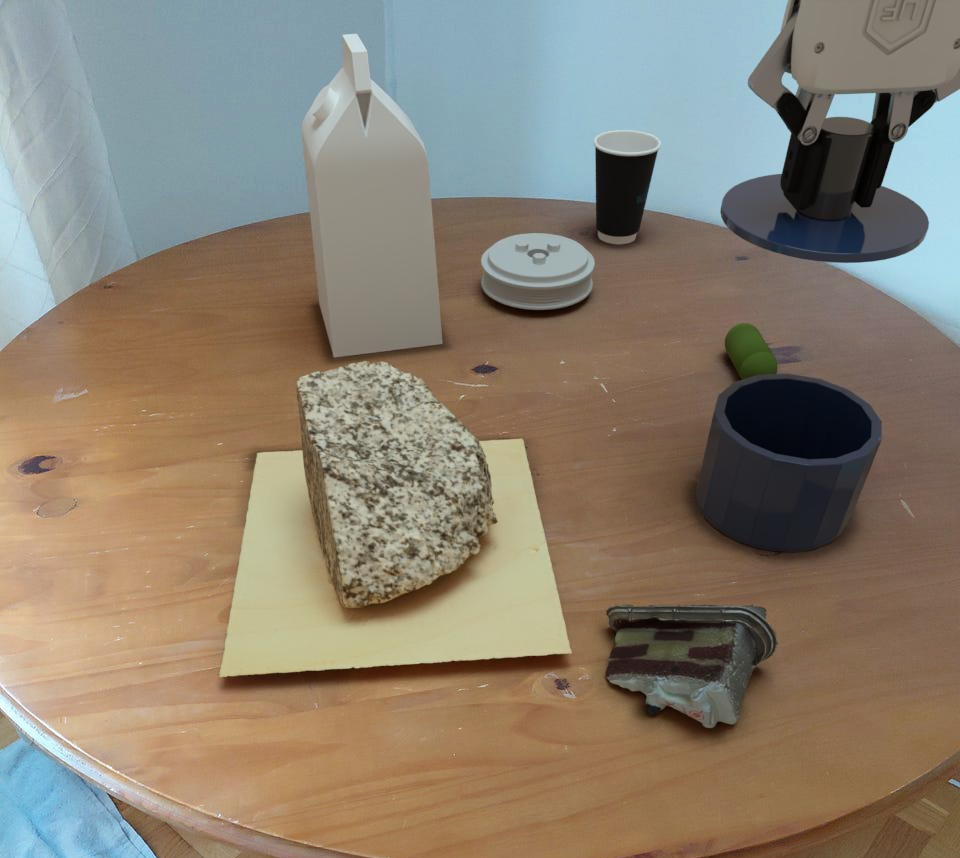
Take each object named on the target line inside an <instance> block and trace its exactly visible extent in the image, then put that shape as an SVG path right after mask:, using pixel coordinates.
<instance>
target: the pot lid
mask: <svg viewBox="0 0 960 858" xmlns="http://www.w3.org/2000/svg"><path fill="white" fill-rule="evenodd" d="M874 133H875V127H874V126H873V125H872V124H871V122H869V121H866V120H864V119H860V118H856V117H849V116H830V117H826V118H825V121H824V123H823V126H822V128H821V131H820V135H819V139H818V142H819V143H820V144H821V145H822V146H823V154H822V158H821V161H820V165H819V169H818V173H817V177H816V181H815V185H814V188H813V192H812V196H811V200H810V204H809V207H808V208H806V209H805V210H796V209H795V208H794V207H793V206H792V205H791V203H790V202H789V201H788V200H787V199H786V197H785V196H784V194H783V190H782V189H781V184H780V182H781V175H782V173H775V174H768V175H762V176H758V177H753V178H751V179H747V180H745V181H742V182H739V183H738V184H736V185H734V186H732V187H731V188H730V189H728V190H727V192H726V193H725V194H724V195H723V198H722V199H721V205H720V211H719V212H720V217H721V220H722V222H723V223H724V225H725V226H726V227H727V229H729V230H730V231H731V232H732V233H733V234H734V235H736V236H737V237H738V238H741V239H742V240H744V241H745V242H748V243H749V244H751V245H754V246H756V247H758V248H761V249H762V250H763V249H764V250H766V251H770V252H773V253H776V254H779V255H783V256H787V257H791V258H795V259H801V260H807V261H813V262H823V263H839V264H840V263H841V264H856V263H857V264H858V263H860V264H861V263H872V262H879V261H885V260H889V259H893V258H897V257H899V256H900V257H901V256H903V255H906V254H907V253H910V252H911V251H913V250H915V249H917V248H918V247H919V246H920V245H921V244H922V243H923V242H924V240H925V238H926V236H927V233H928V231H929V228H930V221H929V217H928V215H927V213H926V212H925V210H924V209H923V208H922V207H921V205H919V204H918V203H916V202H915V201H914V200H913V199H911V198H909V197H908V196H907V195H904V194H902V193H900V192H898V191H896V190H894V189H892V188H889V187H886V186H884V185H881V187H880V188H878V189H876V193H875V196H874V199H873V202H872V205H871V206H870V207H864V208H861V207H860V206H859V205H858V204H857V203H856V202H855V198H856V195H857V191H858V188H859V185H860V181H861V178H862V174H863V171H864V167H865V164H866V161H867V157H868V154H869V150H870V147H871V144H872V140H873V137H874Z"/></svg>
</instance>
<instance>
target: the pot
mask: <svg viewBox="0 0 960 858" xmlns="http://www.w3.org/2000/svg"><path fill="white" fill-rule="evenodd" d="M882 436H883V421H882V420H881V418H880V417H879V415H878V414H877V412H876V411H875V409H874V407H873V406H872V405H871V404H870V403H869V402H867V401H866V400H865V399H863V398H861V397H860V396H859V395H857V394H855V393H854V392H852V390H850V389H848V388H847V387H843V386H840V385H838V384H835V383H832V382H829V381H827V380H824V379H822V378H817V377H811V376H805V375H798V374H793V373H776V374H765V375H756V376H753V377H750V378H747V379H743V380H741V379H740V380H737V381H734V382H732V383H731V384H729V386H727V387H726V388H724V390H722V392H720V393H719V394H718V395H717V398H716V402H715V406H714V410H713V414H712V418H711V424H710V428H709V432H708V436H707V441H706V445H705V451H704V454H703V459H702V464H701V468H700V471H699V477H698V481H697V486H696V490H695V495H696V496H695V497H696V503H697V506H698V509H699V510H700V512H701V514H702V515H703V517H704V518H705V520H707V521H708V523H710V525H711V526H712V527H713V528H715V529H716V531H717V530H718V532H720V533H722V534H723V535H725V536H726V537H729V538H730V539H732V540H734V541H737V542H738V543H741V544H744V545H746V546H750V547H752V548H756V549H760V550H765V551H771V552H778V553H779V552H780V553H797V552H805V551H806V552H807V551H811V550H816V549H818V548H822V547H824V546H826V545H829V544H830V543H832V542H833V541H835V540H837V539H838V538H839V537H840V536H841V535H842V534H843V532H844V531H845V529H846V527H847V525H849V523H850V522H851V520H852V517H853V514H854V512H855V509H856V507H857V504H858V501H859V499H860V497H861V493H862V491H863V489H864V486H865V484H866V481H867V479H868V476H869V474H870V471H871V468H872V466H873V463H874V461H875V459H876V456H877V453H878V450H879V447H880V446H881V443H882V438H883V437H882Z"/></svg>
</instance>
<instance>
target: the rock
mask: <svg viewBox="0 0 960 858" xmlns="http://www.w3.org/2000/svg"><path fill="white" fill-rule="evenodd" d="M295 387H296V389H295V390H296V399H297V404H298V405H297V407H298V413H299V414H298V415H299V424H300V434H301V435H300V436H301V437H300V438H301V448H302V450H301V449H299V450H288V451H287V450H286V451H285V450H284V451H279V450H278V451H263V452H257V453H256V458H255V464H254V467H253V473H252V475H253V477H252V482H251V487H250V492H249V494H250V495H249V499H248V504H247V508H248V509H247V511H246V516H245V518H246V519H245V524H244V527H243V528H244V529H243V535H242V540H241V545H240V549H241V550H240V553H239V558H238V566H237V572H236V578H235V580H234V582H235V583H234V587H233V594H232V601H231V603H230V605H231V607H230V609H229V618H228V622H227V628H226V637H225V640H224V651H222V652H223V653H222V654H223V655H222V657H221V658H222V661H221V665H220V670H219V678H223V677H225V678H227V677H228V676H229V677H238V676H248V675H251V676H254V675H267V674H277V673H279V674H281V673H282V674H286V673H288V674H289V673H296V672H297V673H300V672H306V671H308V672H309V671H313V672H314V671H316V672H318V671H325V670H327V671H328V670H338V669H339V670H346V669H352V668H354V669H361V668H365V669H366V668H372V667H382V666H384V667H386V666H401V665H402V666H404V665H420V664H434V663H435V664H436V663H440V664H441V663H443V662H444V663H448V662H452V661H455V662H460V661H477V660H490V659H505V658H519V657H520V658H523V657H528V656H529V657H532V656H536V657H540V656H548V655H555V654H556V655H562V654H563V655H564V654H565V655H566V654H567V655H568V654H572V653H573V652H572V649H571V646H570V640H569V639H568V638H569V636H568V633H567V632H568V631H567V626H566V622H565V619H564V615H563V609H562V606H561V600H560V594H559V593H558V592H559V590H558V589H557V588H558V586H557V582H556V578H555V573H554V572H553V571H554V568H553V563H552V562H551V556H550V552H549V548H548V546H549V545H548V542H547V539H546V534H545V530H544V526H543V521H542V518H541V511H540V509H539V504H538V502H537V501H538V500H537V496H536V493H535V492H536V490H535V487H534V482H533V477H532V474H531V473H532V471H531V469H530V462H529V460H528V457H527V455H528V454H527V451H526V446H525V440H524V439H523V438H509V439H490V440H479V439H478V438H477V437H476V436H475V435H473V434H472V432H471V431H470V429H468V428H467V427H466V425H465V424H464V423H463V422H462V421H461V420H459V418H458V417H456V416H455V414H454V413H453V412H451V410H449V408H447V407H446V406H445V405H444V404H443V403H442V402H441V401H438V400H437V397H436V395H435V394H434V393H433V390H432V389H431V388H429V386H428V385H427V384H426V383H425V380H424V379H423V378H421V377H420V376H418V375H416V374H414V373H412V372H409V371H401V370H400V369H399V368H397V367H393V366H392V364H391V363H390V362H387V361H382V360H380V361H379V362H377V361H375V362H370V361H368V360H364V361H359V362H352V363H349V364H346V365H340V366H339V367H337V368H334V369H333V368H332V369H327V370H325V371H320V370H318V371H314V372H311V373H308V374H306V375H303V376H302V375H301V376H300V377H299V378H297V380H296V382H295Z"/></svg>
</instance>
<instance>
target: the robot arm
mask: <svg viewBox="0 0 960 858" xmlns="http://www.w3.org/2000/svg"><path fill="white" fill-rule="evenodd" d="M782 19H783V20H782V23H781V27H780V32H779V33H778V35H777V36H776V38H775V39H774V41H773V43H772V44H771V45H770V47H769V48H768V49H767V50H766V52H765V54H764V55H763V56H762V58H761V59H760V61H759V62H758V64H757V65H756V67H755V68H754V69H753V71H752V72H751V74H750V75H749V77H748V79H747V86H748V88H749V90H751V91H752V92H753V93H754V95H756V96H757V97H758V98H759V99H761V100H762V101H763V102H764V103H765V104H767V105H768V106H770V107H771V108H772V109H774V110H775V111H776V113H777V115H778V116H779V117H780V119H781V120H782V122H783V123H784V125H785V126H786V129H787V130H788V131H789V132H790V136H789V140H788V144H787V145H788V146H787V150H786V154H785V158H784V162H783V166H782V167H783V168H782V170H781V174H782V175H781V182H780V184H781V189H782V190H783V194H784V196H785V197H786V199H787V200H788V201H789V202H790V203H791V205H792V206H793V207H794V208H795V209H796V210H805V209H806V208H808V207H809V204H810V200H811V196H812V192H813V188H814V185H815V181H816V177H817V173H818V169H819V165H820V161H821V158H822V154H823V146H822V145H821V144H820V143H819V142H818V139H819V135H820V131H821V128H822V126H823V123H824V121H825V118H827V115H828V112H829V110H830V108H831V105H832V103H833V100H834V98H835V95H853V94H854V95H861V94H864V95H865V94H875V96H874V104H873V109H872V115H871V116H872V117H871V121H870V123H871V124H872V125H873V126H874V127H875V133H874V137H873V140H872V144H871V147H870V150H869V154H868V157H867V161H866V164H865V167H864V171H863V174H862V178H861V181H860V185H859V188H858V191H857V195H856V198H855V202H856V203H857V204H858V205H859V206H860V207H861V208H864V207H870V206H871V205H872V202H873V199H874V196H875V193H876V189H878V188H880V187H881V186H883V182H884V180H885V176H886V174H887V170H888V166H889V163H890V160H891V158H892V157H891V156H892V154H893V150H894V147H895V145H896V143H898V142H900V141H902V140H903V139H904V138H905V137H906V136H907V133H908V131H909V128H910V127H911V126H912V125H913V124H914V123H916V122H917V121H918V120H919V119H921V118H922V117H923V116H924V115H925V114H927V112H928V111H929V110H930V109H932V108H933V106H934V105H935V104H936V103H937V102H941V101H943V100H945V99H946V98H948V97H949V96H951V95H953V94H954V93H956V92H957V91H959V90H960V0H787V3H786V6H785V11H784V15H783V18H782ZM785 73H787V74H790V75H791V78H792V79H793V80H795V81H796V83H797V85H798V87H797V90H796V93H795V94H794V93H793V92H792V91H791V90H790V89H789V88H788V87H787V86H785V84H783V81H782V80H783V76H784V74H785Z"/></svg>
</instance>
